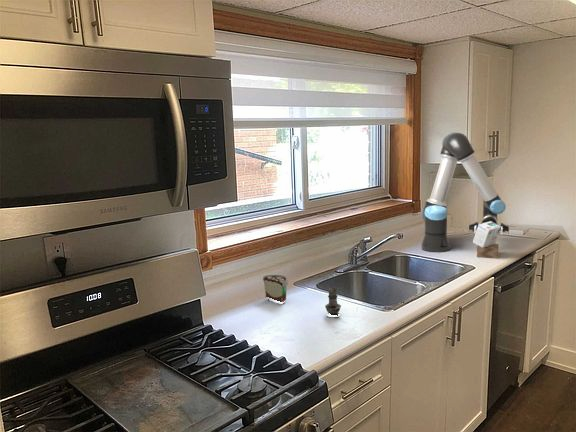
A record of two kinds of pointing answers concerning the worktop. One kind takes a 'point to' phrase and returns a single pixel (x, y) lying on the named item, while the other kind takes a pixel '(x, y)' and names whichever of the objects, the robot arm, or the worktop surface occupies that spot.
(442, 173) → the robot arm
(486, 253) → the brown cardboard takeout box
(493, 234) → the light bulb box
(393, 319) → the worktop surface
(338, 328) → the worktop surface
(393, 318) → the worktop surface
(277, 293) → the food container
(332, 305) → the dark grey tall piece
